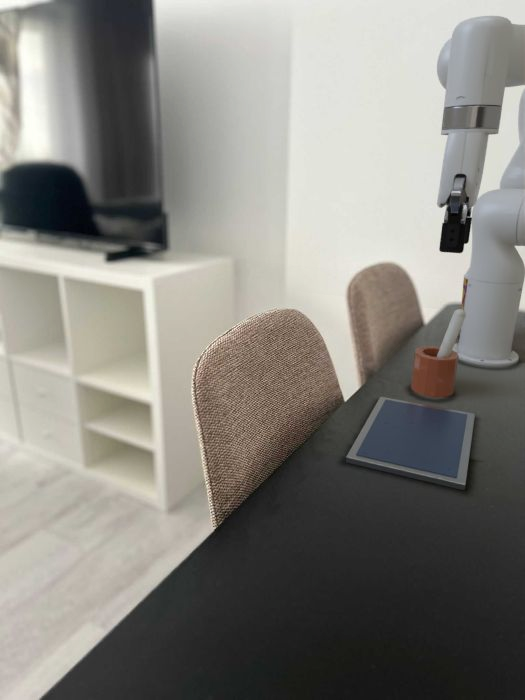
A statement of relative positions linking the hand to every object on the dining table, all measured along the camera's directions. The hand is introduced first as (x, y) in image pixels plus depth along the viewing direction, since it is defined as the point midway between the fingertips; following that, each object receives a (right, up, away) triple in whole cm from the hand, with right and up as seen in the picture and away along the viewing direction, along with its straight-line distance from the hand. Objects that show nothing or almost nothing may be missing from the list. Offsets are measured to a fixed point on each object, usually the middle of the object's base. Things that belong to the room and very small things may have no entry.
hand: (454, 247), depth 77 cm
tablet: (-8, -28, -7) cm, 29 cm away
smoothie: (+18, -13, +35) cm, 41 cm away
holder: (-1, -22, +8) cm, 24 cm away
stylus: (-1, -22, +7) cm, 23 cm away
